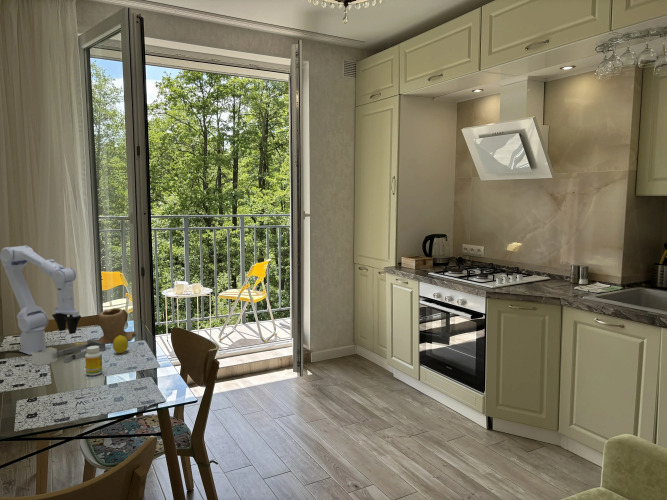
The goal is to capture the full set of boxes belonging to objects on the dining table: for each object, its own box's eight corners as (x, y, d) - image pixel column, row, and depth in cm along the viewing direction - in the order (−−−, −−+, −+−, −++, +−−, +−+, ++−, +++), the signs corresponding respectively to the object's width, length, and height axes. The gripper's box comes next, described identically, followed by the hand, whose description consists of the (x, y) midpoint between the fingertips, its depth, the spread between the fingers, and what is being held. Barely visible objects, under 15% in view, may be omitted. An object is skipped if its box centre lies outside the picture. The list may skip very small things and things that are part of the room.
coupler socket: (48, 357, 191) (48, 348, 191) (89, 346, 205) (89, 338, 205) (65, 363, 184) (65, 354, 184) (107, 351, 198) (106, 343, 198)
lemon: (122, 356, 192) (121, 337, 191) (110, 355, 193) (109, 336, 192) (131, 352, 197) (130, 333, 196) (119, 351, 198) (118, 332, 198)
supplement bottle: (86, 371, 175) (84, 346, 174) (102, 369, 177) (101, 344, 176) (85, 376, 170) (84, 350, 169) (102, 374, 172) (101, 348, 171)
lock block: (32, 364, 184) (31, 351, 183) (51, 359, 189) (50, 346, 189) (38, 366, 181) (37, 353, 181) (57, 361, 187) (56, 348, 186)
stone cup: (97, 348, 204) (95, 313, 202) (98, 340, 214) (97, 307, 213) (136, 343, 210) (134, 310, 208) (135, 336, 220) (134, 304, 219)
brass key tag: (73, 346, 205) (73, 343, 205) (77, 345, 208) (77, 341, 207) (84, 347, 204) (84, 344, 204) (89, 346, 206) (89, 342, 206)
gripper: (45, 298, 191) (47, 331, 193) (65, 302, 184) (67, 337, 185) (63, 295, 197) (65, 327, 199) (83, 299, 189) (84, 332, 191)
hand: (67, 332), depth 192 cm, fingers open, 7 cm apart
